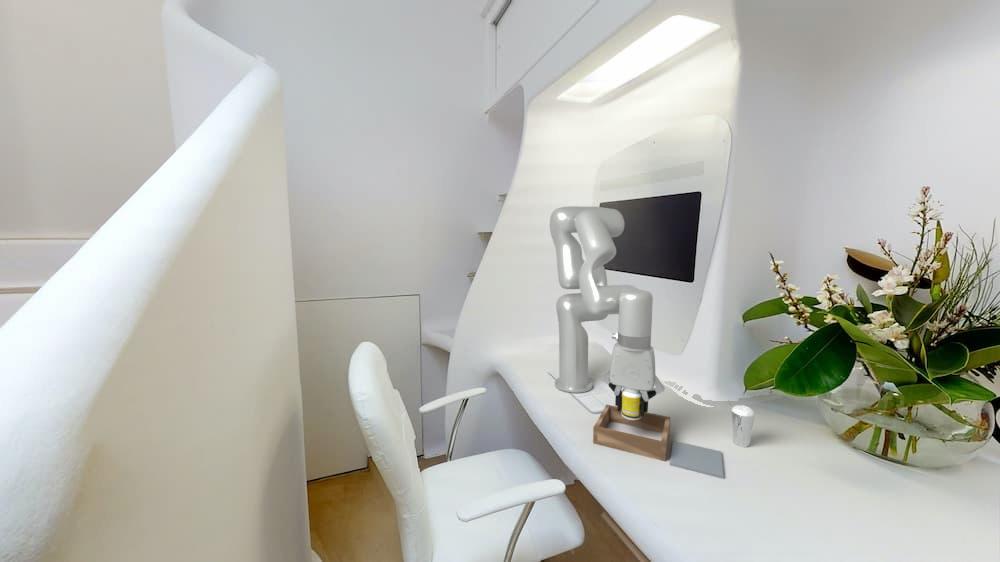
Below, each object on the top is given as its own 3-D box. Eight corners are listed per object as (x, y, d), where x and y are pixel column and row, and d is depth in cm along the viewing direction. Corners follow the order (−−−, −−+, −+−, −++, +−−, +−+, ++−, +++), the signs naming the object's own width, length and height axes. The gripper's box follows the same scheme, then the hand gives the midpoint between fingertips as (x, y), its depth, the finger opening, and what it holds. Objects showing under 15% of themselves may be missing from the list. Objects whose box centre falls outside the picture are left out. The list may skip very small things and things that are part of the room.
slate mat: (672, 442, 88) (673, 440, 88) (721, 453, 83) (721, 451, 83) (669, 464, 79) (669, 462, 79) (723, 478, 74) (723, 476, 74)
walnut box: (606, 418, 100) (606, 404, 100) (669, 431, 93) (670, 417, 92) (593, 443, 88) (593, 427, 88) (665, 461, 81) (665, 444, 80)
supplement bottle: (642, 421, 88) (644, 388, 87) (622, 420, 89) (623, 387, 88) (639, 412, 93) (640, 380, 91) (620, 410, 94) (621, 379, 92)
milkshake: (729, 435, 91) (730, 396, 90) (754, 443, 87) (757, 403, 86) (723, 442, 88) (725, 402, 87) (750, 451, 84) (752, 409, 83)
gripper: (595, 340, 89) (593, 410, 91) (671, 350, 81) (667, 427, 83) (602, 332, 95) (600, 398, 98) (673, 341, 87) (669, 412, 90)
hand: (631, 410), depth 91 cm, fingers closed on supplement bottle, 4 cm apart
